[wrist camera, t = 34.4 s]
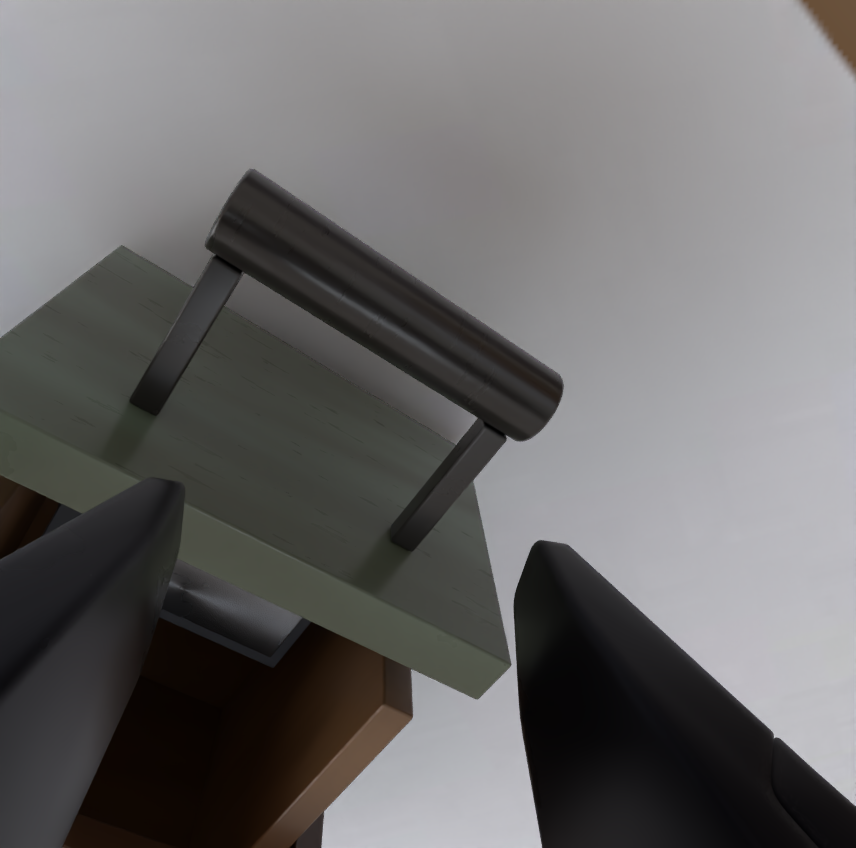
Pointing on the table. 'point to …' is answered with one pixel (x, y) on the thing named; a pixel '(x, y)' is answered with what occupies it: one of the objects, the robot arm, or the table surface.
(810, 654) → the table surface
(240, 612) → the dark box
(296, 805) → the drawer
